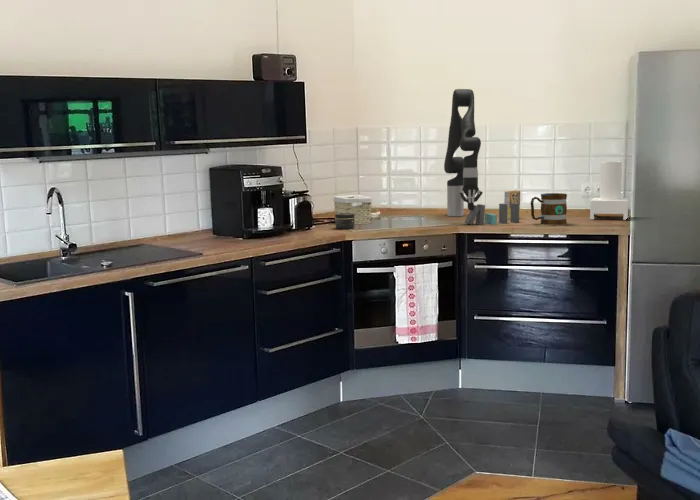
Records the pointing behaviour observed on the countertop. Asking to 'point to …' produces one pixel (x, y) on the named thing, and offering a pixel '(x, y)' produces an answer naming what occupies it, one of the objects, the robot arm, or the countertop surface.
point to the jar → (344, 221)
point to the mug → (551, 208)
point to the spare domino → (490, 218)
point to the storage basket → (354, 207)
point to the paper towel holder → (610, 191)
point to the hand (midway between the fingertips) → (470, 210)
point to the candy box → (511, 201)
